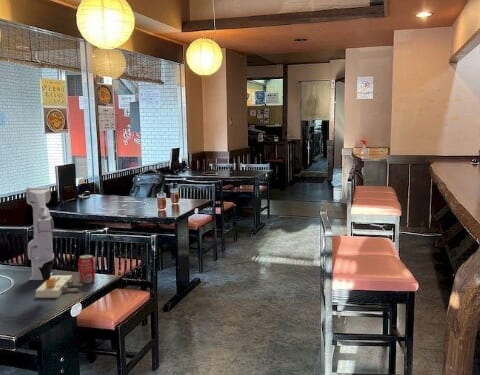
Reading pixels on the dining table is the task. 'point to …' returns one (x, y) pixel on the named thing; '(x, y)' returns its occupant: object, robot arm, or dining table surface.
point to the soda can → (86, 269)
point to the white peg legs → (71, 284)
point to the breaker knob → (50, 282)
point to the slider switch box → (53, 291)
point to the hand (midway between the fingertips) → (46, 279)
